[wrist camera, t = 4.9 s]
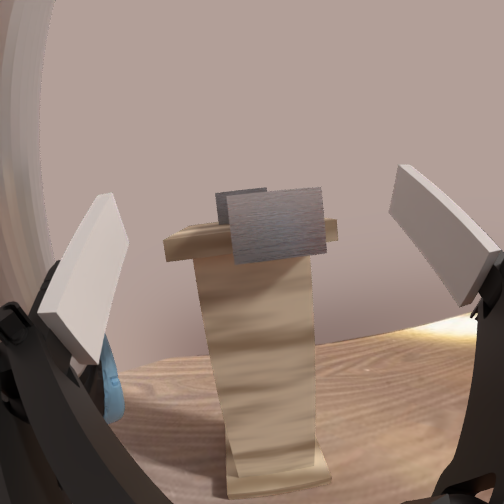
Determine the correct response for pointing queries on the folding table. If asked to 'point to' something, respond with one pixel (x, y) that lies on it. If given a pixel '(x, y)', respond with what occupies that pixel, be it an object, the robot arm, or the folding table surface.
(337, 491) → the folding table surface
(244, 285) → the pedestal
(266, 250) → the grey long bar
